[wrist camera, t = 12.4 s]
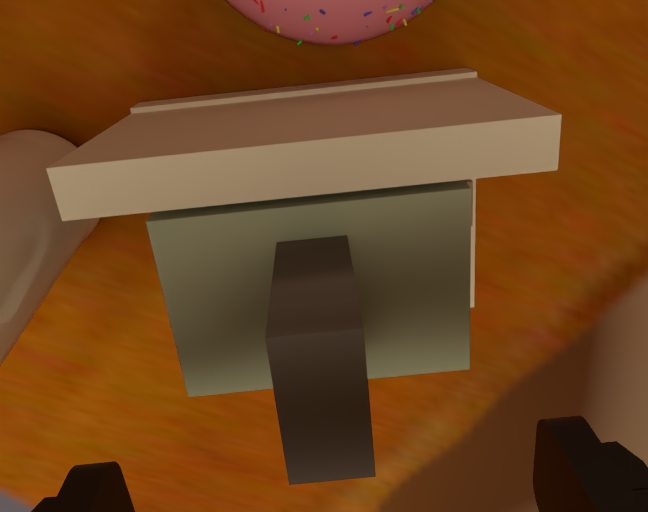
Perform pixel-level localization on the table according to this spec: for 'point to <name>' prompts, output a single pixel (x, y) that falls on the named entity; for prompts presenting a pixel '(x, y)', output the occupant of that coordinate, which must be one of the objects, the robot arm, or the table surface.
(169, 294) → the olive boxy piece
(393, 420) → the table surface
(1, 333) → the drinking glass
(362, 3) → the doughnut
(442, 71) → the stand
